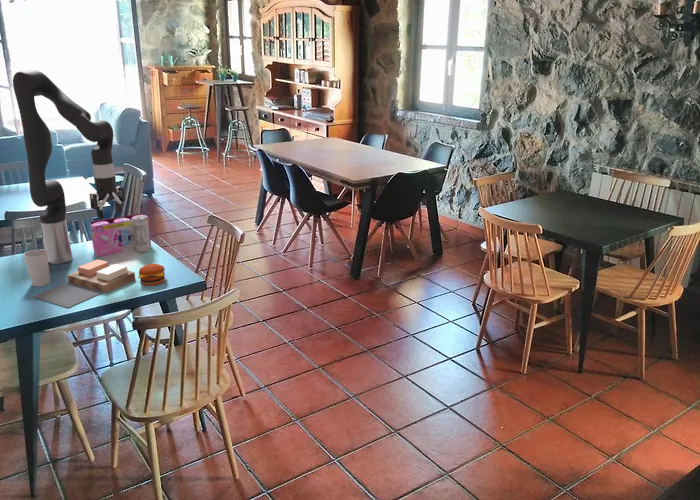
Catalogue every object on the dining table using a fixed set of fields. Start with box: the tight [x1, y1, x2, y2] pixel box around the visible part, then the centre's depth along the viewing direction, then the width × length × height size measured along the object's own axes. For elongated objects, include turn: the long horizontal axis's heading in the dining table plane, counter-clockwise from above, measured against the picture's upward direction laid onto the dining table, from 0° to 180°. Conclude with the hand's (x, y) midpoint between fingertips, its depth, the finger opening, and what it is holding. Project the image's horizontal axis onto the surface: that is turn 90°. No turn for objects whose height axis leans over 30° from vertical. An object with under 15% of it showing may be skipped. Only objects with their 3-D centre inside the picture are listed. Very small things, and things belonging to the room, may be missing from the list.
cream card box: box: [96, 263, 128, 281], centre depth 225 cm, size 6×9×2 cm, turn 152°
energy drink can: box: [132, 216, 151, 254], centre depth 255 cm, size 6×6×15 cm
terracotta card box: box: [77, 258, 110, 276], centre depth 229 cm, size 6×9×2 cm, turn 152°
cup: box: [22, 248, 51, 287], centre depth 224 cm, size 8×8×12 cm
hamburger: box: [138, 263, 166, 287], centre depth 226 cm, size 9×10×7 cm
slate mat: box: [32, 281, 105, 309], centre depth 216 cm, size 19×15×1 cm
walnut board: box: [67, 270, 136, 294], centre depth 227 cm, size 20×14×3 cm
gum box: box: [89, 212, 152, 257], centre depth 259 cm, size 24×8×14 cm, turn 124°
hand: (110, 216), depth 232 cm, fingers open, 8 cm apart
